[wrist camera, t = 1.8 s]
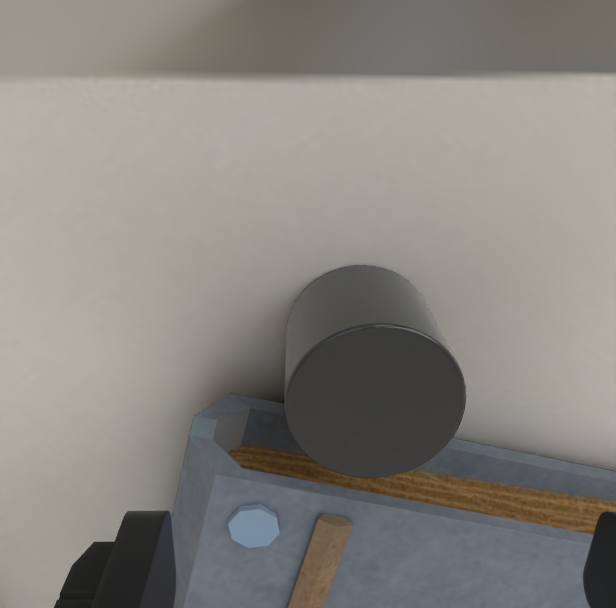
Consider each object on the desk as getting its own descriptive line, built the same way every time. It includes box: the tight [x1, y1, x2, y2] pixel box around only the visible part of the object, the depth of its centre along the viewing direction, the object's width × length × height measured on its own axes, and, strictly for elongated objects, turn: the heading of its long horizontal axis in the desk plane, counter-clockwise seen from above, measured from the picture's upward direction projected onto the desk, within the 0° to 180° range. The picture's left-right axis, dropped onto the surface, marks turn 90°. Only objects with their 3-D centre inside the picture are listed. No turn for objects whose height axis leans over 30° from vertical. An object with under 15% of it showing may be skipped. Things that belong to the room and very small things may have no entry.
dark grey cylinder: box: [284, 265, 466, 478], centre depth 16 cm, size 4×4×4 cm
